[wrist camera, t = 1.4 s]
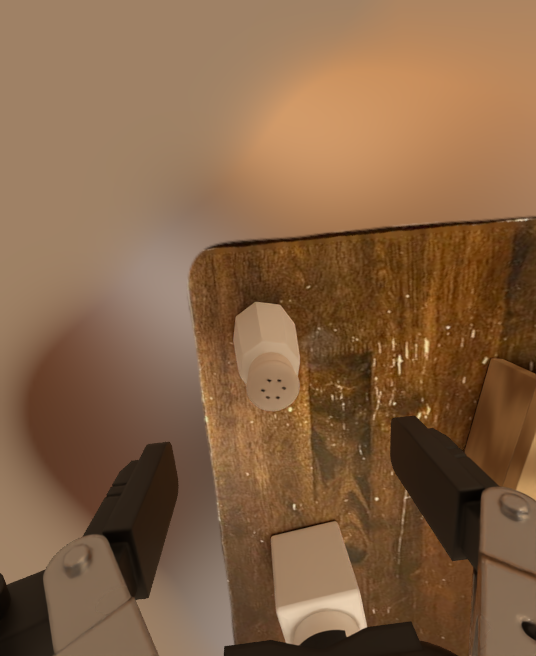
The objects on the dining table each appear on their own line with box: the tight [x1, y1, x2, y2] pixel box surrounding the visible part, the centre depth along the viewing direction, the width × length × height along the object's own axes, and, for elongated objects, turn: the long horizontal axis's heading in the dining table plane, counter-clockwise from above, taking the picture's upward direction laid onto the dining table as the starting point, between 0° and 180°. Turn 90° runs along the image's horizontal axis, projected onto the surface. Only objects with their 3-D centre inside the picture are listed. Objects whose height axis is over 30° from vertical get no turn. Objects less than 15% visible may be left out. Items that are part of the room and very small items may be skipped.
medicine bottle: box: [271, 521, 367, 649], centre depth 28 cm, size 7×7×12 cm
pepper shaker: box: [233, 302, 300, 411], centre depth 21 cm, size 5×5×11 cm
